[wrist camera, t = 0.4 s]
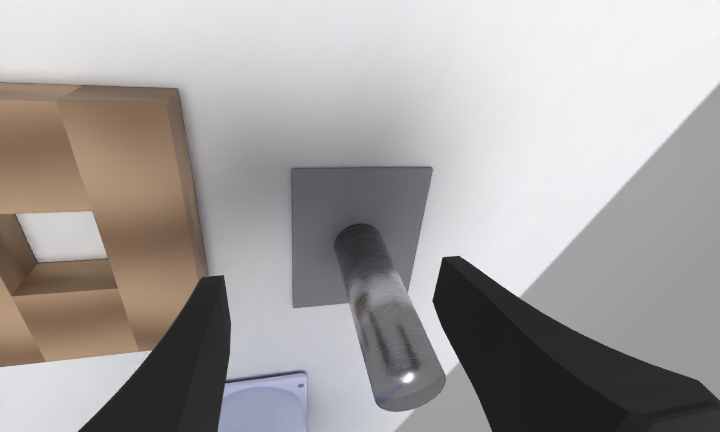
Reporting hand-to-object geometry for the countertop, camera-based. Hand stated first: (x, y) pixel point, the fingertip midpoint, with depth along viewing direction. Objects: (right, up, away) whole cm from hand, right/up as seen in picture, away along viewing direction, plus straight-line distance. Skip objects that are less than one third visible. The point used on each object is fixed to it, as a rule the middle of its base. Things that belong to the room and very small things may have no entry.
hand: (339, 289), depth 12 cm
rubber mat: (+1, +1, +11) cm, 11 cm away
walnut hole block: (-14, +2, +7) cm, 16 cm away
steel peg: (+1, +1, +11) cm, 11 cm away
